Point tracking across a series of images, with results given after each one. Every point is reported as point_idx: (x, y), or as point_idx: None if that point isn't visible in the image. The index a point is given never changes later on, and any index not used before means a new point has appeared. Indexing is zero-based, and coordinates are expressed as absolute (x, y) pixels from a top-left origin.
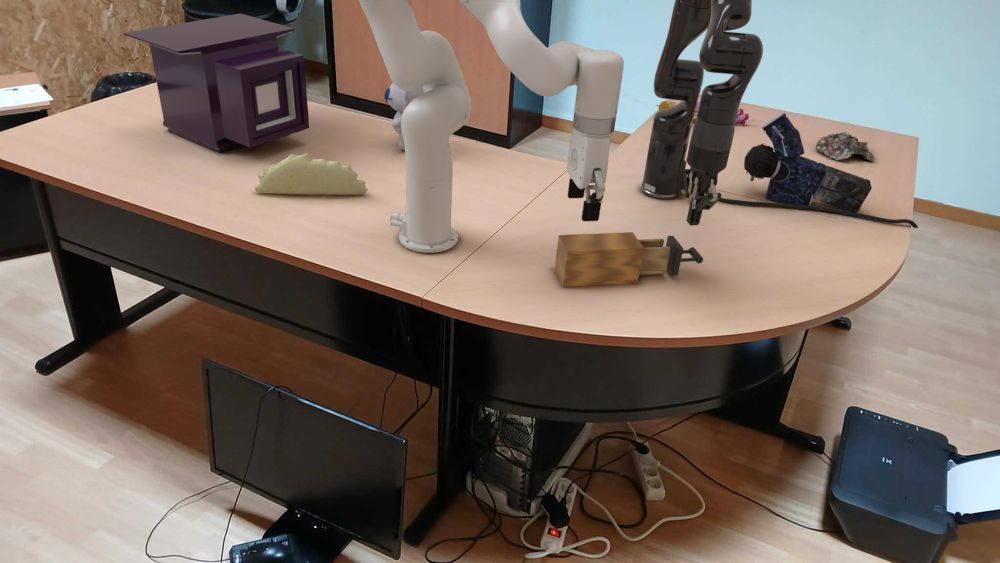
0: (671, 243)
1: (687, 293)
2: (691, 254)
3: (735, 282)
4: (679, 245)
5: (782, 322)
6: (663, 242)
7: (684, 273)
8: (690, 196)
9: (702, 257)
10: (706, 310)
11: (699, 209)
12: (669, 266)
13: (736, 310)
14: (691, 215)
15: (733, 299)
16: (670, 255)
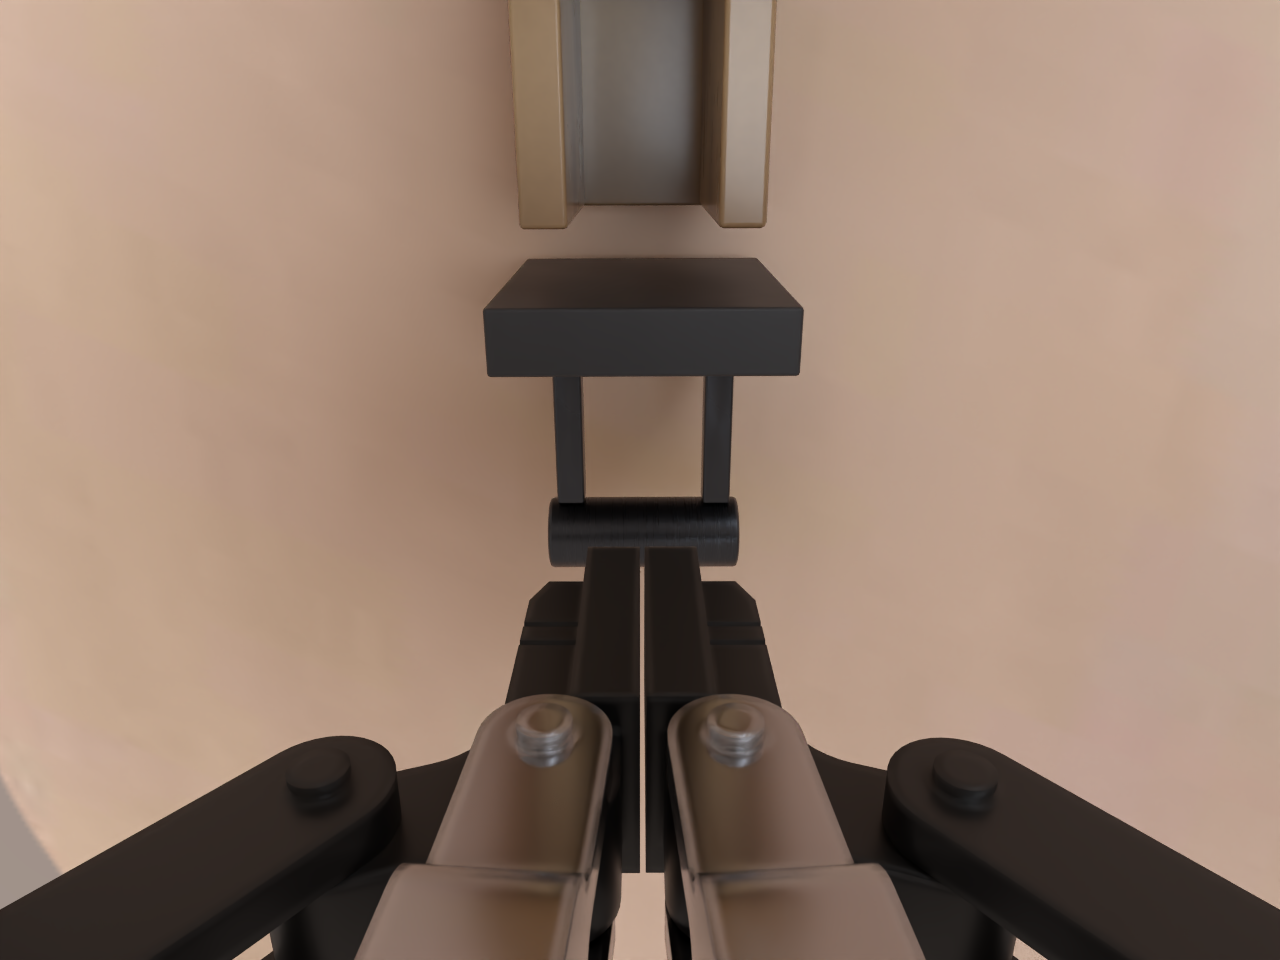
0: (671, 303)
1: (324, 306)
2: (659, 501)
3: (476, 703)
4: (561, 357)
5: (13, 771)
6: (715, 217)
7: (621, 402)
8: (773, 833)
9: (558, 564)
10: (90, 356)
11: (254, 785)
12: (610, 265)
13: (117, 565)
14: (579, 626)
15: (257, 603)
16: (632, 280)
